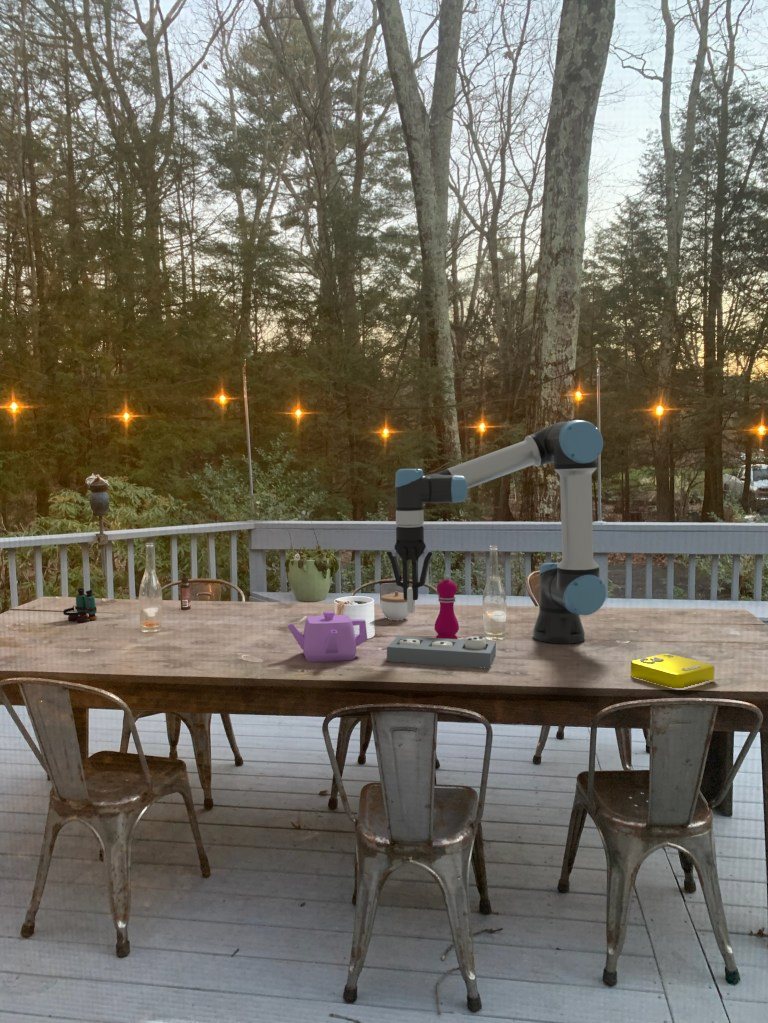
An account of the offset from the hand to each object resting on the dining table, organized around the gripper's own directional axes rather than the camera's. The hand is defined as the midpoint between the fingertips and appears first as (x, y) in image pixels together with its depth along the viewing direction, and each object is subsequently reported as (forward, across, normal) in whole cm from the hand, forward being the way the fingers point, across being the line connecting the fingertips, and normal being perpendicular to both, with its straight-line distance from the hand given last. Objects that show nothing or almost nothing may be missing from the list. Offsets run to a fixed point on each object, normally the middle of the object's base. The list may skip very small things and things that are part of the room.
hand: (411, 611), depth 208 cm
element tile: (+14, -67, +5) cm, 68 cm away
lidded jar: (+13, +16, -47) cm, 51 cm away
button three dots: (+10, -18, 0) cm, 20 cm away
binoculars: (+11, +118, -18) cm, 119 cm away
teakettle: (+12, +22, +5) cm, 26 cm away
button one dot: (+12, -8, 0) cm, 15 cm away
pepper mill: (+13, -6, -19) cm, 24 cm away
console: (+13, -8, 0) cm, 15 cm away
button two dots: (+12, +1, 0) cm, 12 cm away
